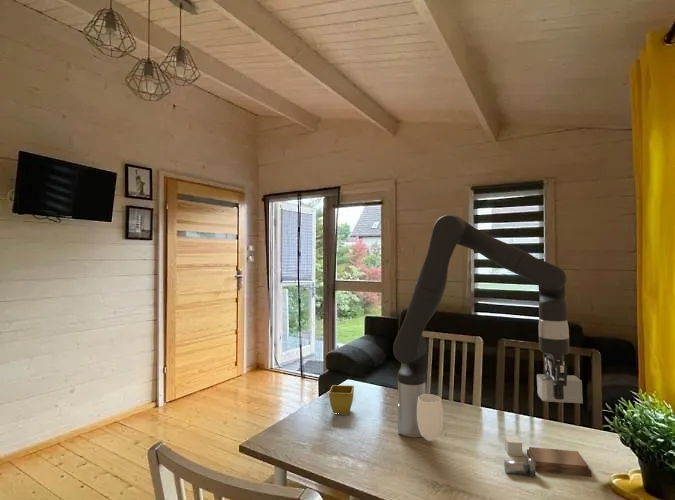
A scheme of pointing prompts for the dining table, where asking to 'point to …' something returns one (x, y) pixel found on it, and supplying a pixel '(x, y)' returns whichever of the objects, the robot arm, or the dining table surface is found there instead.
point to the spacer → (513, 445)
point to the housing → (570, 391)
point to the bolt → (520, 467)
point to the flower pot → (341, 398)
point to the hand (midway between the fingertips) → (555, 395)
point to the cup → (430, 416)
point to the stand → (559, 461)
